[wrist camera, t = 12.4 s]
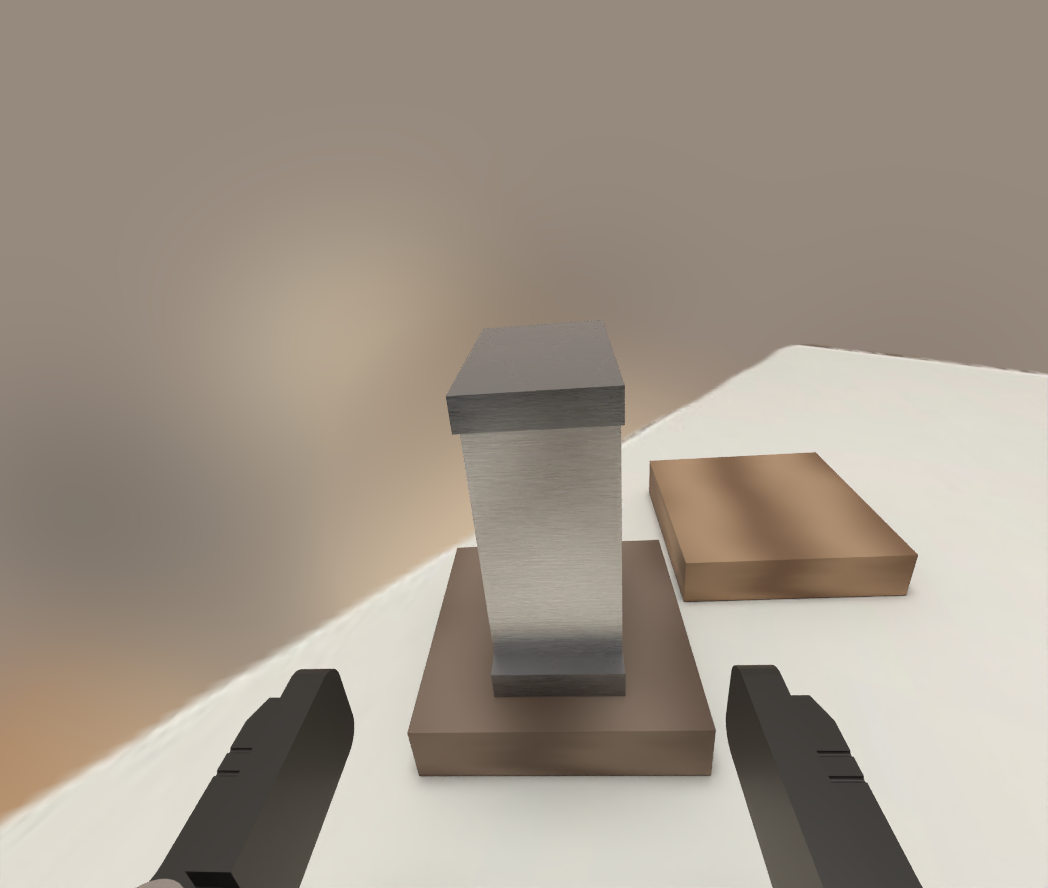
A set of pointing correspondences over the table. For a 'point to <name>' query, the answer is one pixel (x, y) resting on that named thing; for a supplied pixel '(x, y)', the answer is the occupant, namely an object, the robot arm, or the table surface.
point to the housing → (547, 503)
